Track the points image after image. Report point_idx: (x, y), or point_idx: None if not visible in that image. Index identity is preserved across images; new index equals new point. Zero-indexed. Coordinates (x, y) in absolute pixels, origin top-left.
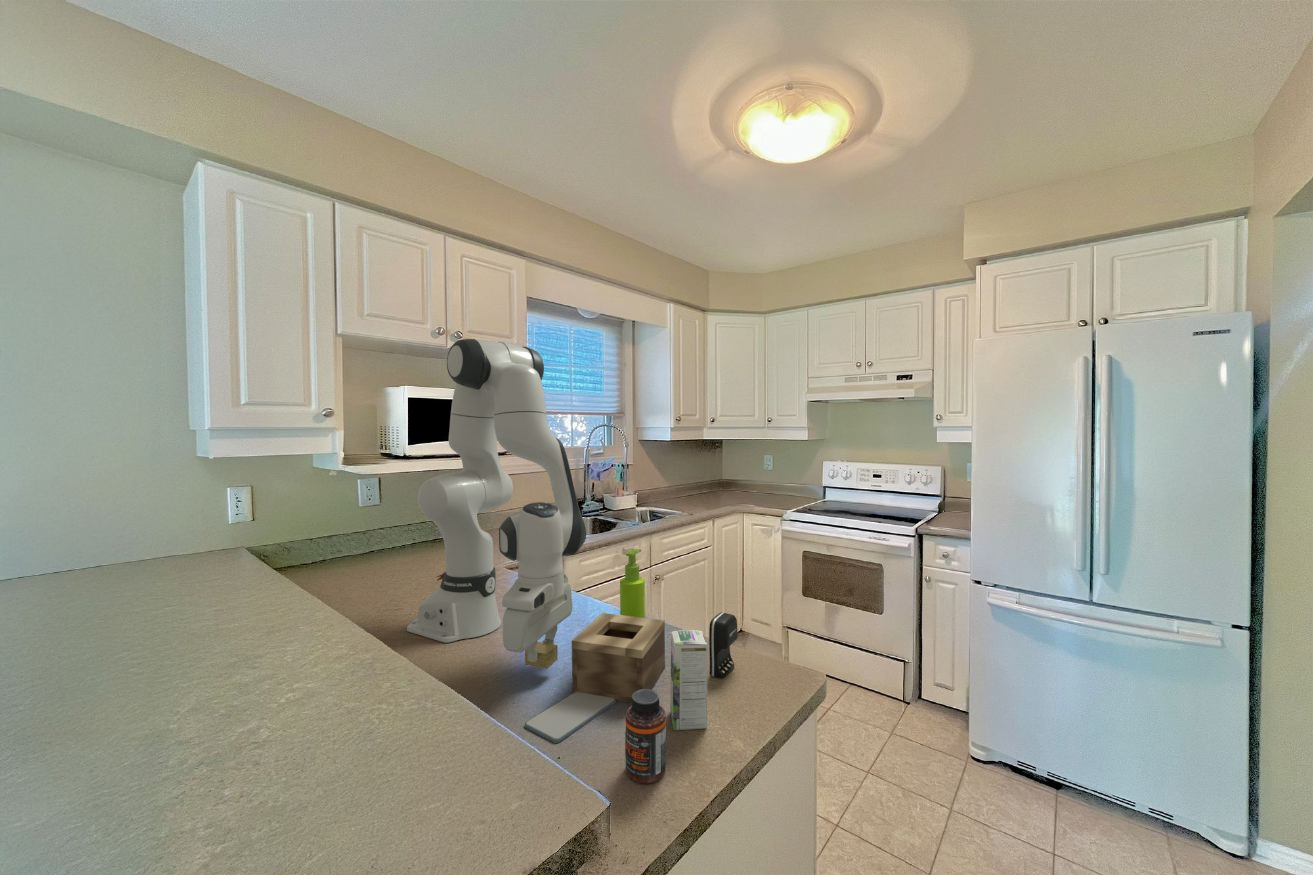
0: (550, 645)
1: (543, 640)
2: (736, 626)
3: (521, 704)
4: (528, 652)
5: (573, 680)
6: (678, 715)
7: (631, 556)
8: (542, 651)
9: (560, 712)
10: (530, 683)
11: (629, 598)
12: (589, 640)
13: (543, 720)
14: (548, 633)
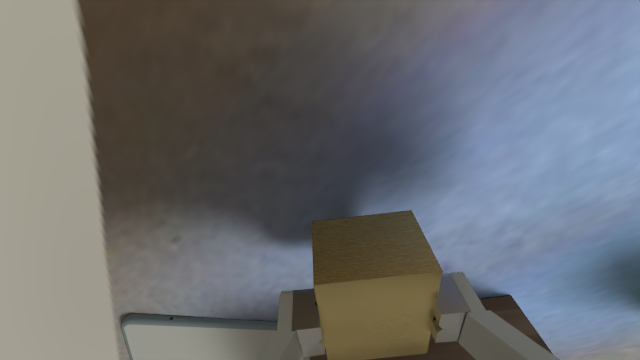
0: (412, 339)
1: (442, 316)
2: None
3: (185, 260)
4: (272, 339)
5: (310, 358)
6: None
7: None
8: (341, 342)
9: (214, 348)
10: (296, 212)
11: None
12: None
13: (163, 342)
14: (495, 351)
